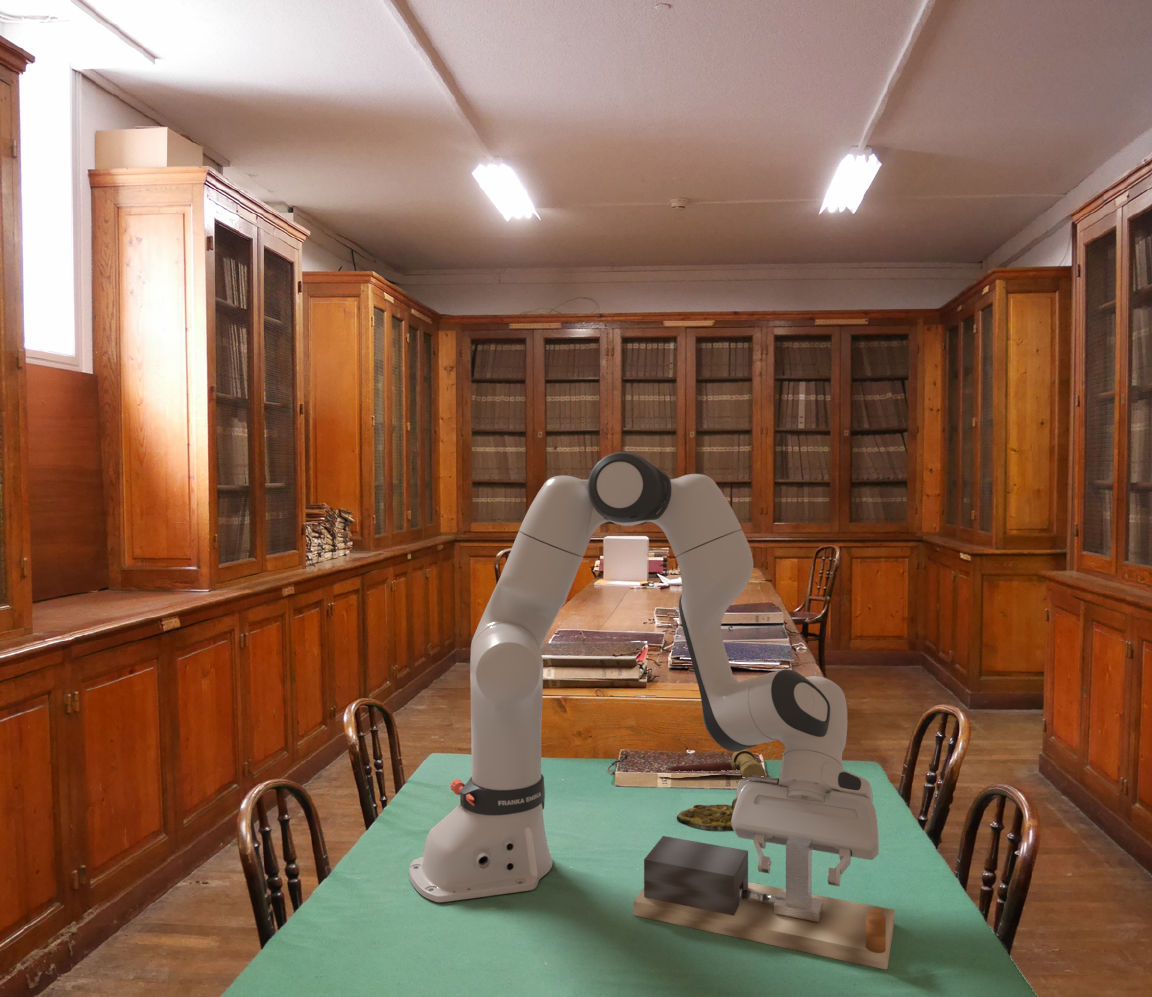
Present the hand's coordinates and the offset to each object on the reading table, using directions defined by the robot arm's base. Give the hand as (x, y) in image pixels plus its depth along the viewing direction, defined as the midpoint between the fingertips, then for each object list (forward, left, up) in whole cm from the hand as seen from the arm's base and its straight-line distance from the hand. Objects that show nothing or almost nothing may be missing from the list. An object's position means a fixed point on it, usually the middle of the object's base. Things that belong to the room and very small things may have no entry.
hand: (797, 877), depth 120 cm
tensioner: (-3, +4, -7) cm, 9 cm away
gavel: (+23, +54, -8) cm, 59 cm away
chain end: (-5, +7, -5) cm, 10 cm away
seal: (+12, +35, -8) cm, 38 cm away
